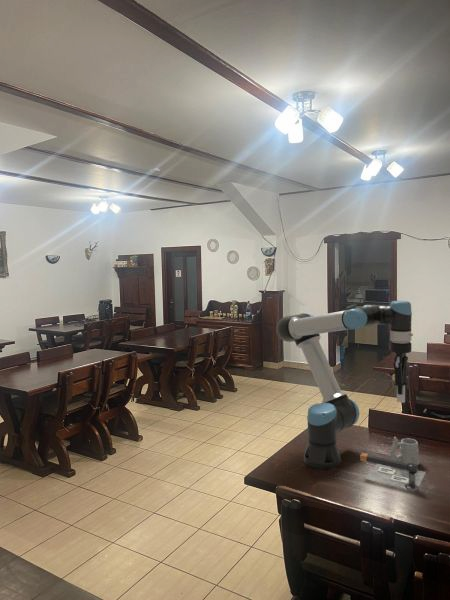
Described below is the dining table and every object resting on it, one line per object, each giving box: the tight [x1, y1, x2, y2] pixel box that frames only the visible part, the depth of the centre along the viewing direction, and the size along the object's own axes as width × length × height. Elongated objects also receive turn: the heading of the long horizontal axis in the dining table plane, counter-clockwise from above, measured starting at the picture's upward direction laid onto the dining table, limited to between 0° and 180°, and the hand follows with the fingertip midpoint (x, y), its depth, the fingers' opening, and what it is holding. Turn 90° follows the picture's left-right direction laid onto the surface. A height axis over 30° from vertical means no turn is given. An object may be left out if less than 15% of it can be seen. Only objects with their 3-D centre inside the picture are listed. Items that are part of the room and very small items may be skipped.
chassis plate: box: [366, 464, 427, 492], centre depth 174 cm, size 18×17×1 cm
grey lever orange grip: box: [359, 452, 418, 473], centre depth 169 cm, size 20×4×2 cm, turn 54°
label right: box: [390, 475, 409, 484], centre depth 170 cm, size 6×4×1 cm, turn 56°
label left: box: [377, 467, 396, 475], centre depth 177 cm, size 6×4×1 cm, turn 56°
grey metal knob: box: [404, 473, 420, 492], centre depth 164 cm, size 5×5×7 cm
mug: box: [389, 436, 421, 467], centre depth 183 cm, size 8×12×12 cm, turn 95°
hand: (400, 401), depth 175 cm, fingers closed
